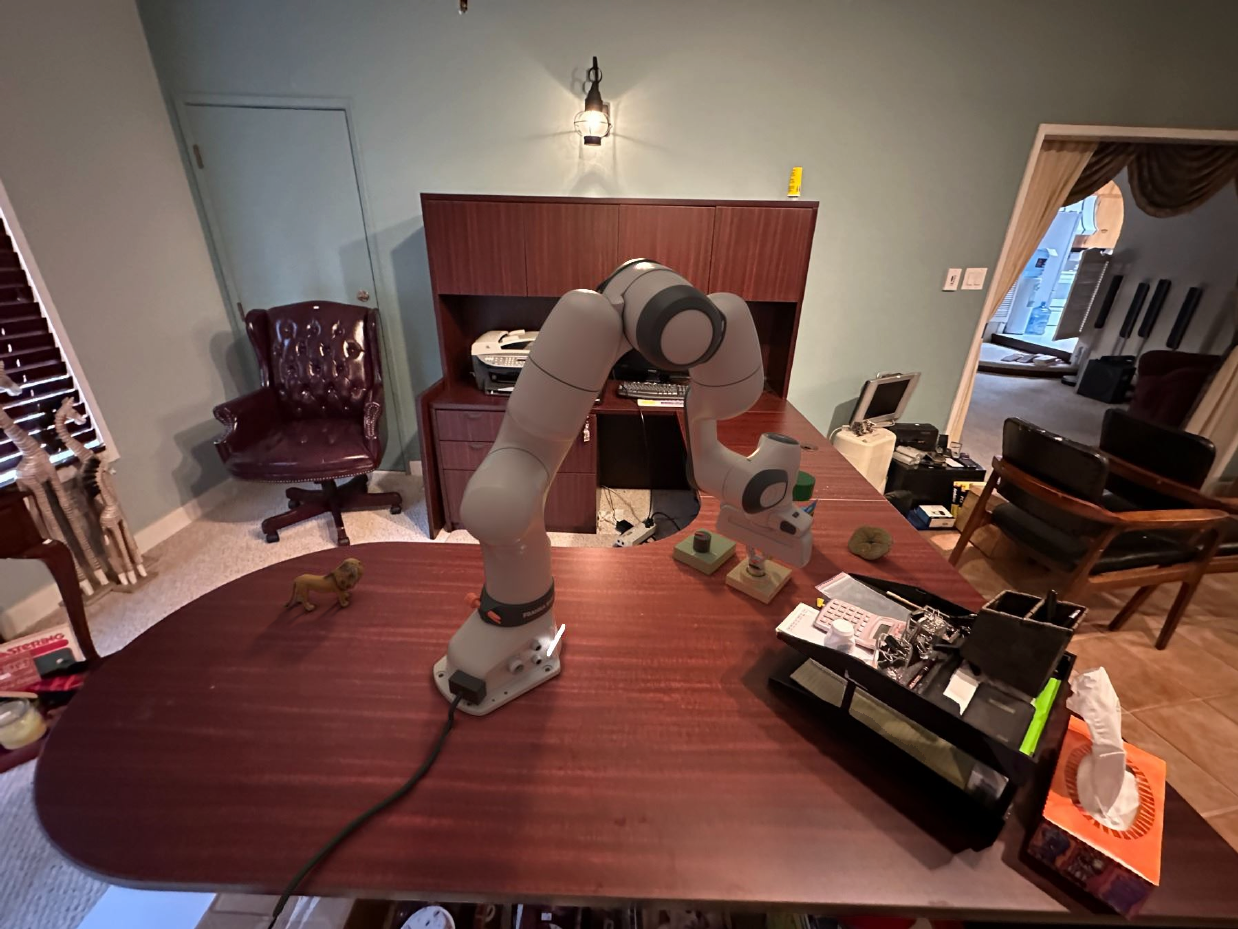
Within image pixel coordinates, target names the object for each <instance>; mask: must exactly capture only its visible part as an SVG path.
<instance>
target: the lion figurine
mask: <svg viewBox="0 0 1238 929" xmlns="http://www.w3.org/2000/svg"><path fill="white" fill-rule="evenodd" d="M363 575H364V568H363V566H362V563H361V561H360V560H358V559H357V558H354V557H349V558H346V559H344V560H343V562H341V564H340V565H339V566H337V567H336V568H335V569H333V570H331V571H330V572H329V573H328V574H324V575H315V574H311V573H310V574H309V573H305V574H301V575H300V576H297V577H296V578H294V580H293V582H292V584H291V593H290V598H289V601H288V602H286V604H284V606H283V608H288V607H290V606H291V605H292V603H293V601H294V597H295V600H296V602H298V603H302V605H303V607H305V609H306V610H307V611H308V612H309V611H310V612H311V611H313V610H314V609H315V606H314V605H313V604H310V603H308V602H309V601H308V598H309V594H310V591H313V592H316V593H319V594H332V593H334V594H335V595H336V597H337V599H338V602H339V604H340V605H341V607H343V608H346V607H347V606H349V604H350V603H349V601H346V599H347V598H349V596H350V594H349V593H346V592H347V591H349V590H353V589H354V588H355V586H356V584H358V582H359V581H360V580H361V579H362V578H363Z"/></svg>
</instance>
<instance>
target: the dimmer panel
mask: <svg viewBox="0 0 1238 929" xmlns="http://www.w3.org/2000/svg"><path fill="white" fill-rule="evenodd" d="M697 531H705V532H708V533H710V534H711V536H712V537H711V544H710V550H709V551H708V552H706V553H700V552H697V551H695V550H694V549H693V539H694V533H695V532H697ZM736 549H737V541H734V540H732V539H730V538H727V537H725V536H723V535H721V534H718V533H715V532H713V531H711V530H708V529H706V528H703V527H699V528H698V529H697V530H695V531H694V532H693V533H691V534H690V535H688V536H687V537H685V538H684V539H683V540H681V541H679V543H677V544H675V545H674V546H673V550H672V558H673V559H675V560H678V561H679V562H682V563H683V564H685V565H688V566H690V567H692V568H694V569H696V570H698V571H700V572H702V573H703V574H706V575H708V576H710V575H711V574H713V573H714V572H715V571H716V570H717V569H719V567H721V566H722V565H723V564H724V563H725V562H726V561H728V559H731V557H732V556H733V555H735V554H736Z"/></svg>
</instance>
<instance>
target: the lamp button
mask: <svg viewBox="0 0 1238 929" xmlns="http://www.w3.org/2000/svg"><path fill="white" fill-rule="evenodd" d="M747 572H748V574H750V575H752V576H754V577H763V576H764V573H765V565H764V566H763V568H762V569H760V568H758V567H755V566H753V565H751V564H748V569H747Z"/></svg>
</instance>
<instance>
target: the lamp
mask: <svg viewBox="0 0 1238 929" xmlns="http://www.w3.org/2000/svg"><path fill="white" fill-rule="evenodd" d="M815 486H816V478H815V476H813V475H812V474H810V473H808V472H806V471H804V470H799V473H798V478H797V482H796V484H795V486H794V488H793V491H792V495H793V501H792V502H793V503H794V502H801V503H802V502H808V501H810V500H811V499H813V494H814V490H815ZM773 559H774V557H772V556H770V557H769V558H768V559H767V560H770V561H772V560H773Z"/></svg>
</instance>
